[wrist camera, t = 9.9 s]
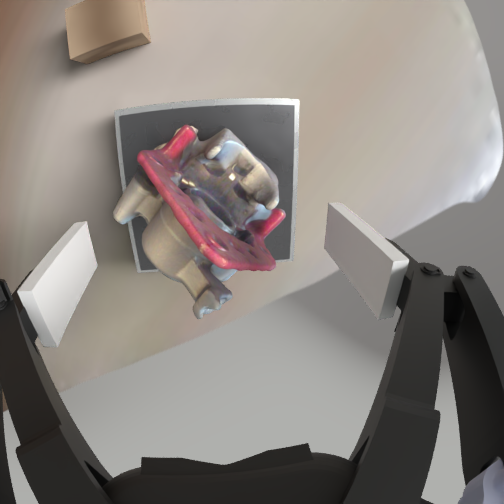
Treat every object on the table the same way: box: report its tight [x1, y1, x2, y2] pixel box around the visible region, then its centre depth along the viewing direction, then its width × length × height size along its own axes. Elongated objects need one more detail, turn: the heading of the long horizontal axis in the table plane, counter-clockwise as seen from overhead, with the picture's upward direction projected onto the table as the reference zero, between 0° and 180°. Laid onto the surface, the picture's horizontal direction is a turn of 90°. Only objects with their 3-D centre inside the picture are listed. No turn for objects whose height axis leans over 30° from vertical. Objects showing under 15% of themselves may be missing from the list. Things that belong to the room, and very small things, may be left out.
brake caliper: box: [113, 125, 286, 319], centre depth 19 cm, size 11×11×12 cm
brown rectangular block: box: [65, 0, 151, 64], centre depth 17 cm, size 6×5×4 cm
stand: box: [114, 98, 299, 273], centre depth 24 cm, size 14×14×4 cm
